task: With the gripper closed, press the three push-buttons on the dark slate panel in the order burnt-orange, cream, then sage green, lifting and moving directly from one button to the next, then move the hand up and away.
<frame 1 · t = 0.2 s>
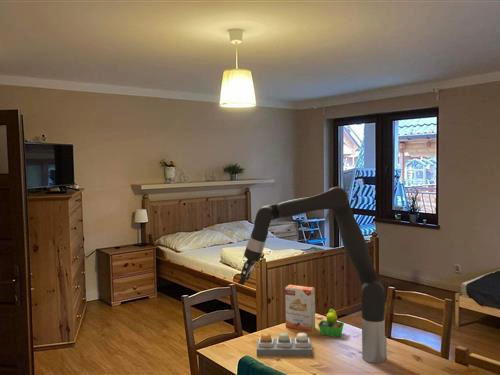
hand: (243, 281, 199), 30 cm above the table, tool tilted 20°, fingers open, 8 cm apart
orange button: (266, 336, 197), point 6 cm above the table, slide at 0.0 cm
cream button: (302, 336, 196), point 6 cm above the table, slide at 0.0 cm
sage button: (284, 336, 197), point 6 cm above the table, slide at 0.0 cm
fruit basket: (331, 334, 215), on the table
control panel: (284, 350, 197), on the table
cracker box: (300, 328, 224), on the table
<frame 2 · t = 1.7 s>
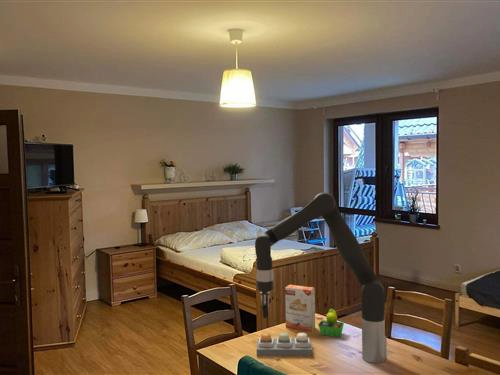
hand: (265, 317, 197), 15 cm above the table, tool pointing down, fingers closed
nothing on the table moved.
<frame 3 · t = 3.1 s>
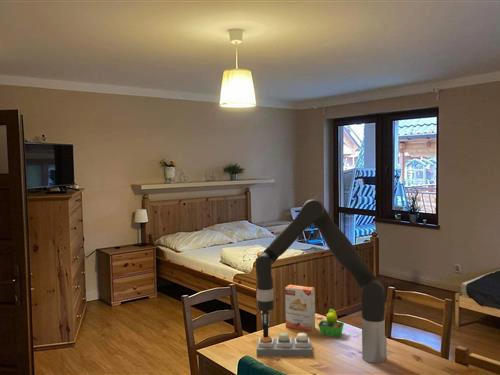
hand: (265, 336, 197), 6 cm above the table, tool pointing down, fingers closed
orange button: (266, 338, 197), point 5 cm above the table, slide at 0.9 cm, touching gripper
everything else where it was.
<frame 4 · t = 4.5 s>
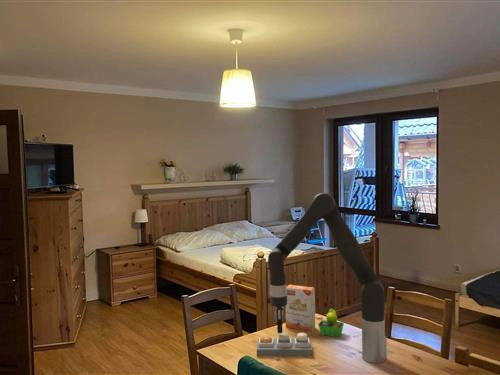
hand: (280, 332, 196), 8 cm above the table, tool pointing down, fingers closed
orange button: (266, 340, 197), point 5 cm above the table, slide at 1.6 cm
everything else where it was.
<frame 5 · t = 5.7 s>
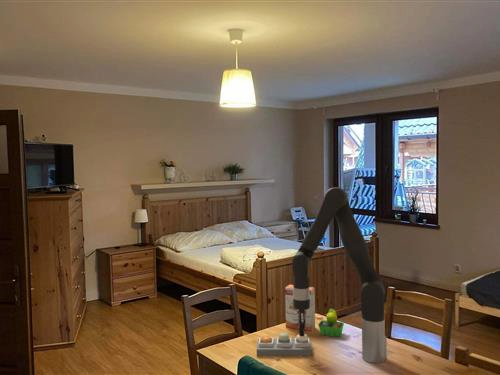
hand: (301, 335, 196), 7 cm above the table, tool pointing down, fingers closed
cream button: (302, 337, 196), point 6 cm above the table, slide at 0.5 cm, touching gripper
everything else where it was.
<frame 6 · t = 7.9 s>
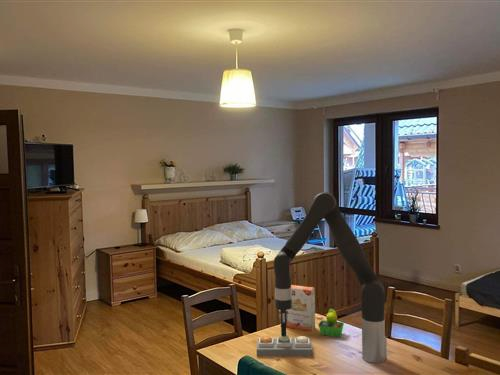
hand: (283, 335, 197), 7 cm above the table, tool pointing down, fingers closed
cream button: (302, 340, 196), point 5 cm above the table, slide at 1.6 cm
sage button: (284, 337, 197), point 6 cm above the table, slide at 0.5 cm, touching gripper
everything else where it was.
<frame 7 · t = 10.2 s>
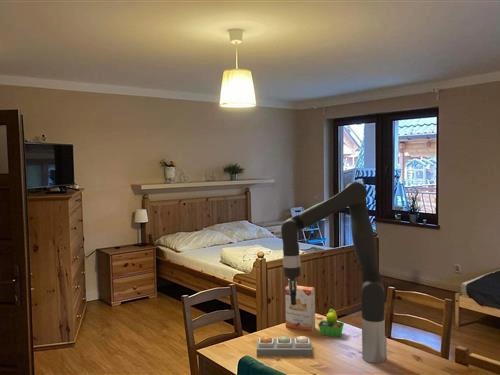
hand: (293, 304, 193), 22 cm above the table, tool pointing down, fingers closed
sage button: (284, 340, 197), point 5 cm above the table, slide at 1.6 cm
everything else where it was.
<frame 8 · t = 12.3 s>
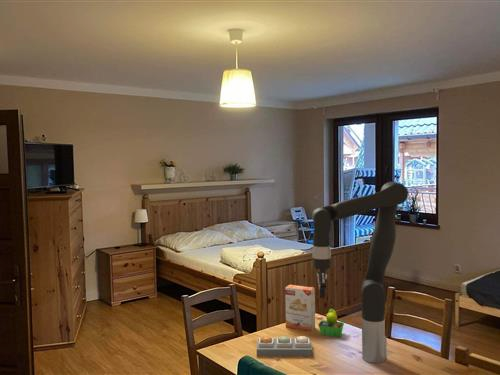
hand: (322, 297, 184), 27 cm above the table, tool pointing down, fingers closed
nothing on the table moved.
at the end: orange button slide at 1.6 cm; cream button slide at 1.6 cm; sage button slide at 1.6 cm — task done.
